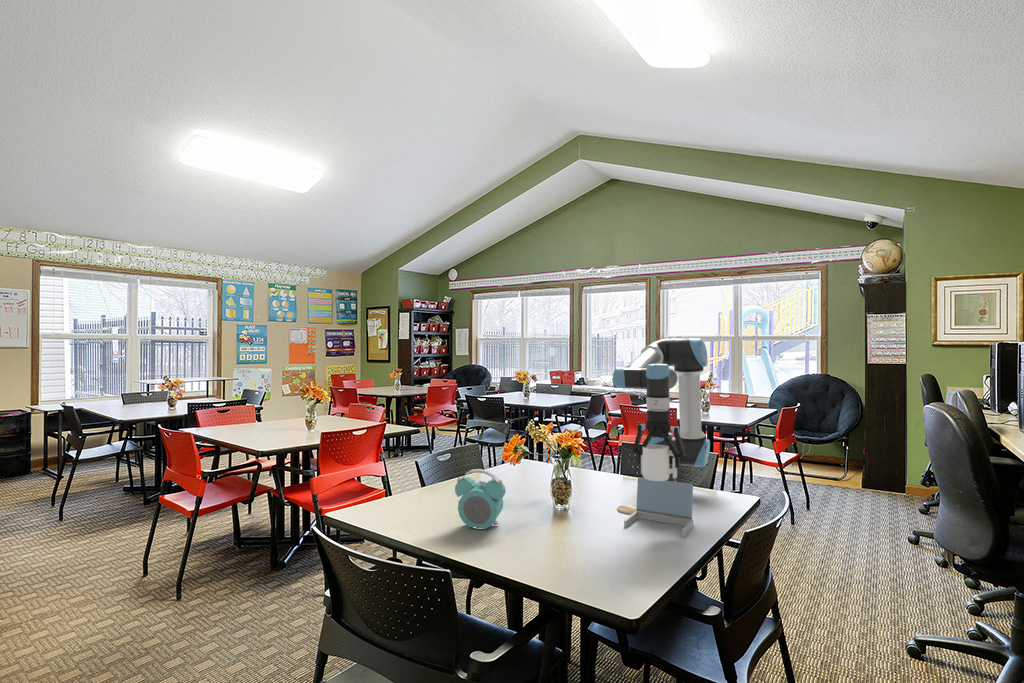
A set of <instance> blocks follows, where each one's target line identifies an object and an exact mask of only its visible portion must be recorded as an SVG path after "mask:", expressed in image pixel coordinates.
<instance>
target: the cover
mask: <svg viewBox="0 0 1024 683" xmlns="http://www.w3.org/2000/svg"><path fill="white" fill-rule="evenodd" d="M636 491H637V492H636V511H639V512H645V513H651V514H658V515H664V516H670V517H677V518H683V519H689V520H693V500H694V499H693V498H694V494H693V492H694V483H686V482H679V481H677V482H673V481H650V480H646V479H645V478H642V477H639V476H638V477H637V488H636Z"/></svg>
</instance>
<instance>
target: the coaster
mask: <svg viewBox="0 0 1024 683" xmlns="http://www.w3.org/2000/svg"><path fill="white" fill-rule="evenodd" d="M636 506H637V504H635V505H633V504H623V505H620V506H617V508H616V510H617V512H618V513H621V514H624V515H629V516H630V515H632V514H633V513H634V512H635V511H636Z"/></svg>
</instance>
